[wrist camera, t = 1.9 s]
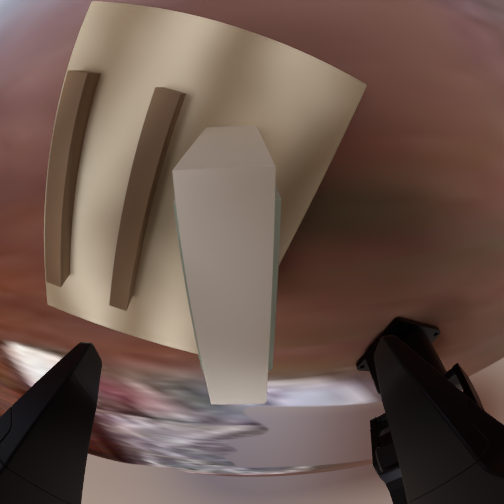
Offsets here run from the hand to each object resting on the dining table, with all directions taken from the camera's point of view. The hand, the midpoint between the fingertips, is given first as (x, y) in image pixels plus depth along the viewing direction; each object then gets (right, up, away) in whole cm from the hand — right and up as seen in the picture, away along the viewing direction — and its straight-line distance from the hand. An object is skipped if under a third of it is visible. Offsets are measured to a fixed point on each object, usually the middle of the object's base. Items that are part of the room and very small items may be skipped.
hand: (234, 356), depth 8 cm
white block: (0, +5, +8) cm, 9 cm away
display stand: (-5, +6, +8) cm, 11 cm away
